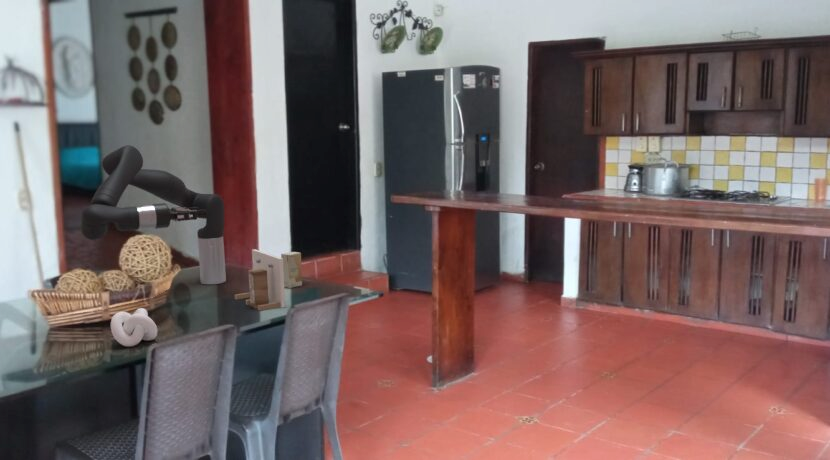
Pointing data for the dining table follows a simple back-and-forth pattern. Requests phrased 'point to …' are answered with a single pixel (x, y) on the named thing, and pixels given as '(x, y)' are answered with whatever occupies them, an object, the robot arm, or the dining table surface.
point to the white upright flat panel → (269, 279)
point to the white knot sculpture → (133, 327)
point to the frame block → (258, 287)
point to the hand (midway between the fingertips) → (203, 211)
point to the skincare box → (292, 269)
